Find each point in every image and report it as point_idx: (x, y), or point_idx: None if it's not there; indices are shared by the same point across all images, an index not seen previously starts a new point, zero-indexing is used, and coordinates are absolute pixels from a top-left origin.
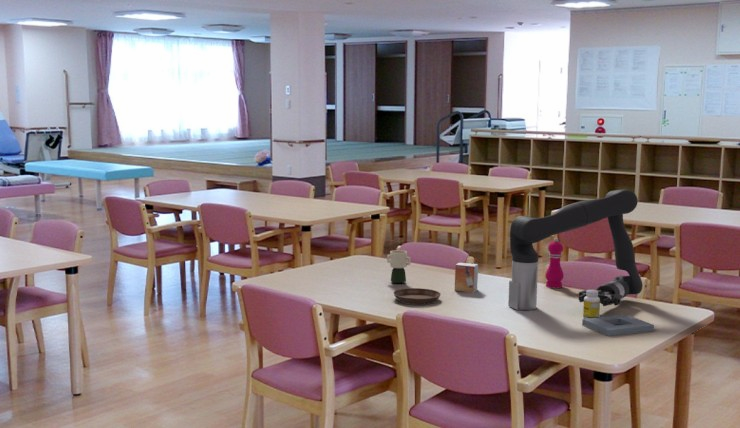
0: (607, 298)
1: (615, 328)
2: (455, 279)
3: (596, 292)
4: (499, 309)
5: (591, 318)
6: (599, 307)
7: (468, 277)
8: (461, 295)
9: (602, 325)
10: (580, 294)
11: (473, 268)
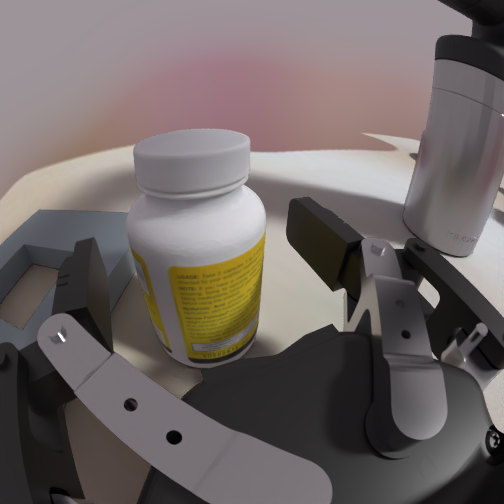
0: (76, 292)
1: (24, 227)
2: None
3: (136, 146)
4: None
5: None
6: (142, 290)
7: None
8: (500, 211)
9: (63, 218)
10: (397, 251)
11: None
